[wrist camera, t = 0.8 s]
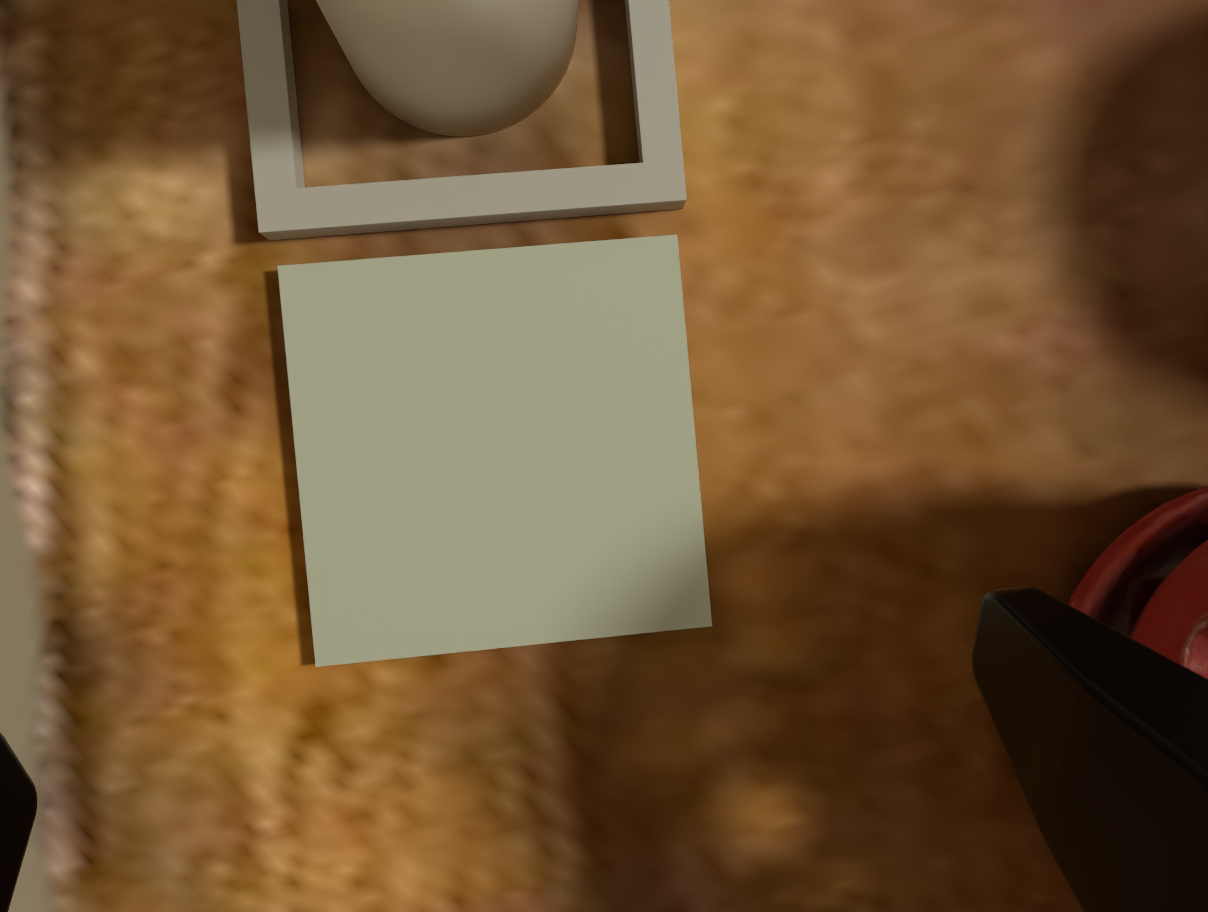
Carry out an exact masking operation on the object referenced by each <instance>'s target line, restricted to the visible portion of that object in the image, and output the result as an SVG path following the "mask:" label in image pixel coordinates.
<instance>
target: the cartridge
mask: <svg viewBox="0 0 1208 912" xmlns="http://www.w3.org/2000/svg"><path fill="white" fill-rule="evenodd" d="M316 2H317V4H318V6H319V7H320V9H321V11H322V13H323V15H324V17H325V19H326V20H327V22H328V24H329V26H330V28H331V30H332V32H333V33H334V35H335V37H336V39H337V41H338V43H339V45H340V46H341V48H342V50H343V52H344V54H345V56H346V58H347V59H348V61H349V63H350V65H351V67H352V69H353V71H354V72H355V74H356V76H357V77H358V79H359V80H360V82H361V84H362V85H363V86H364V88H365V89H366V90H367V91H368V93H369V94H370V95H371V96H372V97H373V98H374V99H375V100H376V101H377V102H378V103H379V104H380V105H381V106H382V107H383V108H384V109H386V110H387V111H388V112H390V113H391V114H392V115H394V116H395V117H396V118H398V119H400V120H402V121H404V122H405V123H407V124H409V125H411V126H414V127H416V128H419V129H421V130H424V131H427V132H431V133H435V134H439V135H446V136H454V137H470V136H478V135H485V134H489V133H493V132H496V131H500V130H502V129H505V128H507V127H509V126H512V125H514V124H516V123H518V122H519V121H521V120H523V119H524V118H526V117H528V116H529V115H530V114H532V113H533V112H534V111H535V110H537V109H538V108H539V107H540V106H541V105H542V104H543V103H544V102H545V101H546V100H547V99H548V98H549V97H550V96H551V94H552V93H553V92H554V90H555V89H556V88H557V86H558V85H559V83H560V82H561V80H562V78H563V76H564V74H565V73H566V71H567V68H568V66H569V63H570V60H571V58H572V54H573V50H574V46H575V42H576V33H577V20H578V0H316Z"/></svg>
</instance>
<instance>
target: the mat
mask: <svg viewBox="0 0 1208 912" xmlns="http://www.w3.org/2000/svg"><path fill="white" fill-rule="evenodd" d="M277 267H278V277H279V288H280V298H281V309H282V319H283V330H284V340H285V351H286V361H287V372H288V382H289V393H290V403H291V414H292V424H293V435H294V445H295V456H296V466H297V477H298V487H299V498H300V508H301V519H302V529H303V540H304V550H305V561H306V571H307V582H308V592H309V603H310V614H311V624H312V635H313V645H314V656H315V666H316V667H319V666H329V665H339V664H348V663H358V662H368V661H378V660H387V659H397V658H407V657H417V656H427V655H436V654H446V653H456V652H466V651H475V650H485V649H495V648H505V647H514V646H524V645H534V644H544V643H553V642H563V641H573V640H583V639H592V638H602V637H612V636H622V635H632V634H641V633H651V632H661V631H671V630H680V629H690V628H700V627H710V626H712V618H711V607H710V596H709V584H708V573H707V562H706V551H705V540H704V529H703V517H702V506H701V495H700V484H699V473H698V462H697V450H696V439H695V428H694V417H693V406H692V395H691V383H690V372H689V361H688V350H687V339H686V328H685V316H684V305H683V294H682V283H681V272H680V261H679V249H678V238H677V235H666V236H653V237H641V238H628V239H615V240H602V241H590V242H577V243H564V244H551V245H539V246H526V247H513V248H500V249H488V250H475V251H462V252H449V253H437V254H424V255H411V256H398V257H386V258H373V259H360V260H347V261H335V262H322V263H309V264H296V265H284V266H277Z"/></svg>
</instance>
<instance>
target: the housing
mask: <svg viewBox="0 0 1208 912" xmlns="http://www.w3.org/2000/svg"><path fill="white" fill-rule="evenodd" d="M237 10H238V20H239V31H240V41H241V52H242V62H243V73H244V83H245V94H246V104H247V115H248V125H249V136H250V146H251V156H252V167H253V177H254V188H255V198H256V209H257V219H258V230H259V233H260V234H262V235H263V236H264V237H266V238H267V239H268V240H282V239H295V238H308V237H321V236H334V235H347V234H360V233H373V232H386V231H399V230H412V229H425V228H438V227H451V226H464V225H477V224H490V223H503V222H516V221H529V220H542V219H555V218H568V217H581V216H594V215H607V214H620V213H633V212H646V211H659V210H672V209H682V208H683V206H684V204H685V202H686V200H687V198H686V187H685V176H684V165H683V154H682V143H681V131H680V120H679V109H678V98H677V87H676V75H675V64H674V53H673V42H672V31H671V19H670V8H669V0H625V10H626V21H627V32H628V44H629V55H630V66H631V77H632V88H633V99H634V110H635V121H636V132H637V144H638V155H639V163H631V164H618V165H604V166H591V167H577V168H564V169H550V170H537V171H523V172H510V173H496V174H483V175H469V176H455V177H442V178H428V179H415V180H401V181H388V182H374V183H361V184H347V185H334V186H320V187H307V188H305V181H304V170H303V160H302V149H301V139H300V128H299V118H298V107H297V96H296V86H295V75H294V65H293V54H292V44H291V33H290V22H289V12H288V1H287V0H237Z"/></svg>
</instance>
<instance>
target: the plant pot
mask: <svg viewBox="0 0 1208 912" xmlns="http://www.w3.org/2000/svg"><path fill="white" fill-rule="evenodd" d="M1068 605H1070V606H1072V607H1074V608H1075V609H1077V610H1079V611H1081V612H1083V613H1085V614H1087V615H1089V616H1090V617H1092V618H1094V619H1096V620H1098V621H1100V622H1102V623H1104V624H1105V625H1107V626H1109V627H1111V628H1113V629H1115V630H1117V631H1119V632H1120V633H1122V634H1124V635H1126V636H1128V637H1130V638H1132V639H1134V640H1135V641H1137V642H1139V643H1141V644H1143V645H1145V646H1147V647H1149V648H1150V649H1152V650H1154V651H1156V652H1158V653H1160V654H1162V655H1164V656H1165V657H1167V658H1169V659H1171V660H1173V661H1175V662H1177V663H1179V664H1180V665H1182V666H1184V667H1186V668H1188V669H1190V670H1192V671H1194V672H1195V673H1197V674H1199V675H1201V676H1203V677H1205V678H1207V679H1208V486H1207V487H1204V488H1201V489H1198V490H1195V491H1193V492H1190V493H1187V494H1185V495H1183V496H1180V497H1178V498H1175V499H1173V500H1171V501H1169V502H1166V503H1164V504H1162V505H1161V506H1159V507H1158V508H1156V509H1154V510H1153V511H1151V512H1150V513H1148V514H1146V515H1145V516H1143V517H1142V518H1141V519H1139V520H1138V521H1136V522H1135V523H1134V524H1132V525H1131V526H1130V527H1129V528H1128V529H1126V530H1125V531H1124V532H1123V533H1121V534H1120V535H1119V536H1118V537H1117V538H1116V539H1115V540H1114V541H1113V542H1112V543H1111V544H1110V545H1109V546H1108V547H1107V548H1106V549H1105V550H1104V551H1103V552H1102V554H1101V555H1100V556H1099V557H1098V558H1097V560H1096V561H1095V562H1094V563H1093V565H1092V566H1091V567H1090V569H1089V570H1088V571H1087V573H1086V574H1085V575H1084V577H1083V578H1082V580H1081V581H1080V583H1079V585H1078V586H1077V588H1076V590H1075V591H1074V593H1073V595H1072V597H1071V599H1070V601H1069V604H1068Z"/></svg>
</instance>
